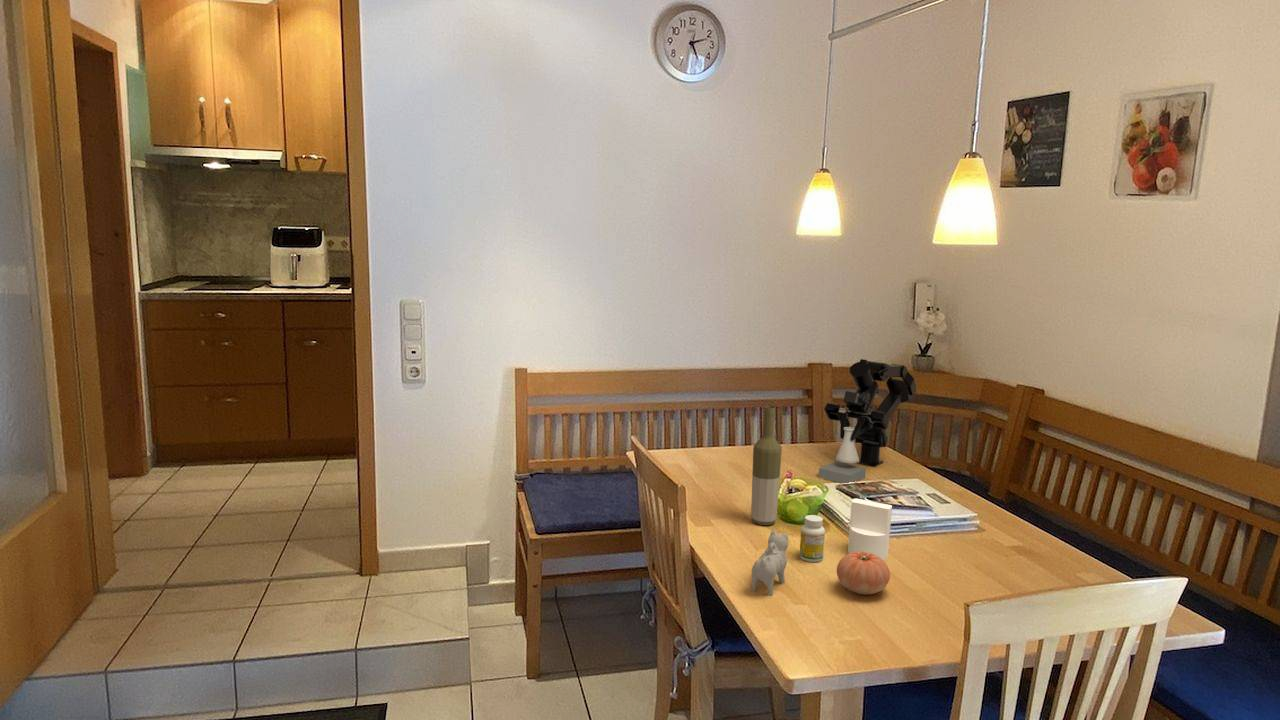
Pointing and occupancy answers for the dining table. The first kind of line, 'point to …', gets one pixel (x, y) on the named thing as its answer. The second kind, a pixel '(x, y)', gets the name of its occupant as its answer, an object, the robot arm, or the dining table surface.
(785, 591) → the dining table surface
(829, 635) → the dining table surface
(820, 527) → the supplement bottle
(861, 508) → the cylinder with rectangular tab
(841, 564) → the pumpkin
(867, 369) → the robot arm
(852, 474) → the dock
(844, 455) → the flask
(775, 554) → the dog figurine
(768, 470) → the bottle
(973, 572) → the dining table surface
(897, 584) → the dining table surface
